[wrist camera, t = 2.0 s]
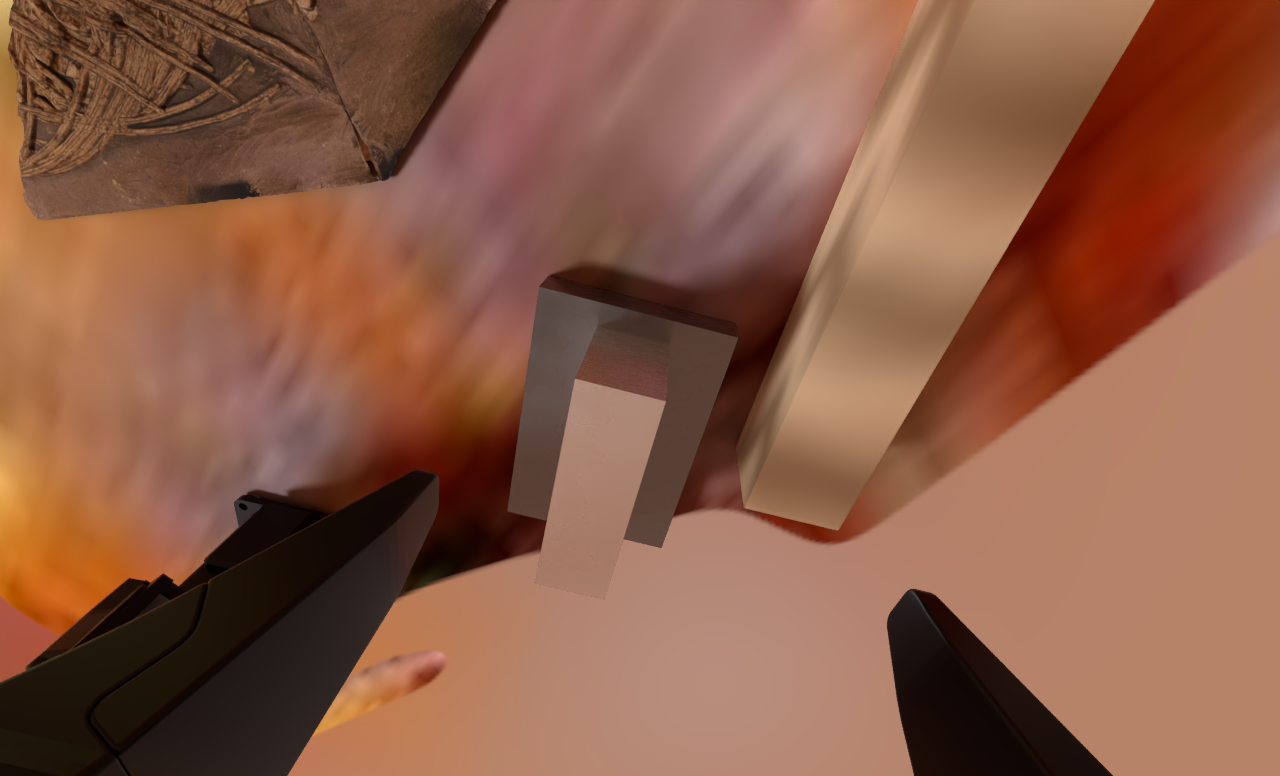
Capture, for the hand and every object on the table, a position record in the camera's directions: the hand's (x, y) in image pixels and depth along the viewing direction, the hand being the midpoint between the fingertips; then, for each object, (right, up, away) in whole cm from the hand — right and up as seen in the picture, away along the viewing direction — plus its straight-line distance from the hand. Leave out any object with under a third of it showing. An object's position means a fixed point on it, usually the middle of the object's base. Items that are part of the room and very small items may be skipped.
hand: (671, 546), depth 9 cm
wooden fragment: (-15, +15, +9) cm, 23 cm away
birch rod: (+8, +7, +11) cm, 15 cm away
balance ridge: (-2, +2, +14) cm, 15 cm away
